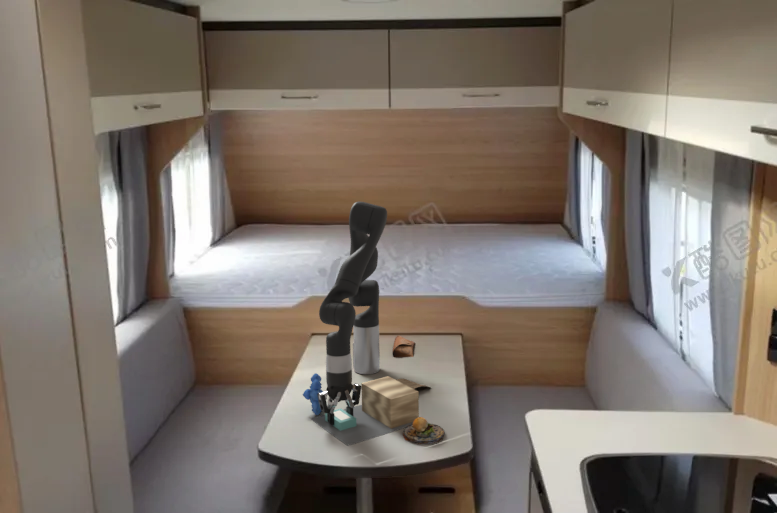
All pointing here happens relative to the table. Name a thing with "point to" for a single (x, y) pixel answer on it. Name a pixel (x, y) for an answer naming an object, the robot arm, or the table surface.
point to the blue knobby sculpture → (314, 393)
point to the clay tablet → (410, 383)
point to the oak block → (390, 401)
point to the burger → (423, 432)
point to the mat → (358, 427)
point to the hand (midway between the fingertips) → (340, 421)
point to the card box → (342, 419)
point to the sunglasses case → (402, 347)
